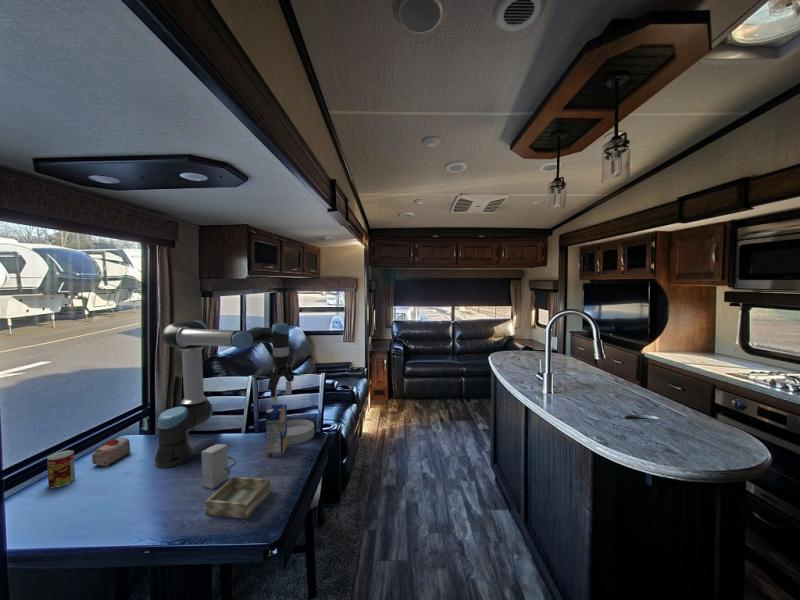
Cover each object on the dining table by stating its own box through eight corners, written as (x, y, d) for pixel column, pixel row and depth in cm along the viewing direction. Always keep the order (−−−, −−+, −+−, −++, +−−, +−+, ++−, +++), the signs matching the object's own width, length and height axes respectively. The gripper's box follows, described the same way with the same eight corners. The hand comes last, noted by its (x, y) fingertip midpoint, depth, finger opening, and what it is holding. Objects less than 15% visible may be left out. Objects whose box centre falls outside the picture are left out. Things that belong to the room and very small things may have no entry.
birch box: (205, 514, 122) (205, 501, 122) (233, 488, 138) (232, 476, 138) (247, 518, 120) (247, 504, 120) (270, 491, 136) (270, 479, 136)
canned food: (48, 483, 142) (47, 455, 141) (74, 475, 148) (73, 448, 147) (48, 490, 137) (47, 461, 136) (75, 482, 142) (74, 454, 142)
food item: (106, 468, 154) (105, 447, 153) (90, 467, 154) (89, 446, 154) (132, 453, 167) (131, 434, 167) (117, 453, 168) (116, 433, 167)
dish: (281, 427, 198) (281, 419, 198) (319, 427, 198) (319, 419, 197) (265, 445, 176) (265, 435, 176) (307, 445, 176) (307, 436, 175)
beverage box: (266, 457, 162) (265, 412, 162) (273, 447, 173) (272, 404, 172) (281, 457, 163) (280, 412, 162) (287, 446, 174) (286, 404, 173)
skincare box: (212, 489, 137) (211, 453, 136) (201, 487, 139) (200, 451, 138) (229, 478, 145) (228, 444, 144) (217, 476, 147) (217, 442, 146)
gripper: (274, 361, 152) (274, 407, 153) (300, 350, 176) (300, 391, 177) (258, 360, 153) (259, 406, 154) (287, 350, 178) (287, 390, 179)
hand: (281, 398), depth 166 cm, fingers open, 13 cm apart
